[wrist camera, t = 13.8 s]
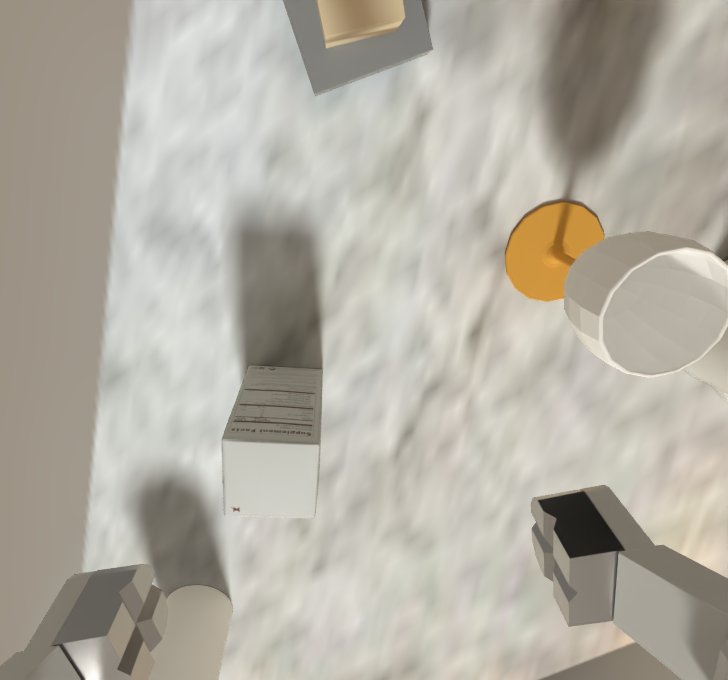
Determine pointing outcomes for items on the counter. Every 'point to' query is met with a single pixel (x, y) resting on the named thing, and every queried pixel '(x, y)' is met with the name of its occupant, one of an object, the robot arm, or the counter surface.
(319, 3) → the maple cube
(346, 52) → the plate
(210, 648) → the cup
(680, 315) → the cup
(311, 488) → the supplement box
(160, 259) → the counter surface
